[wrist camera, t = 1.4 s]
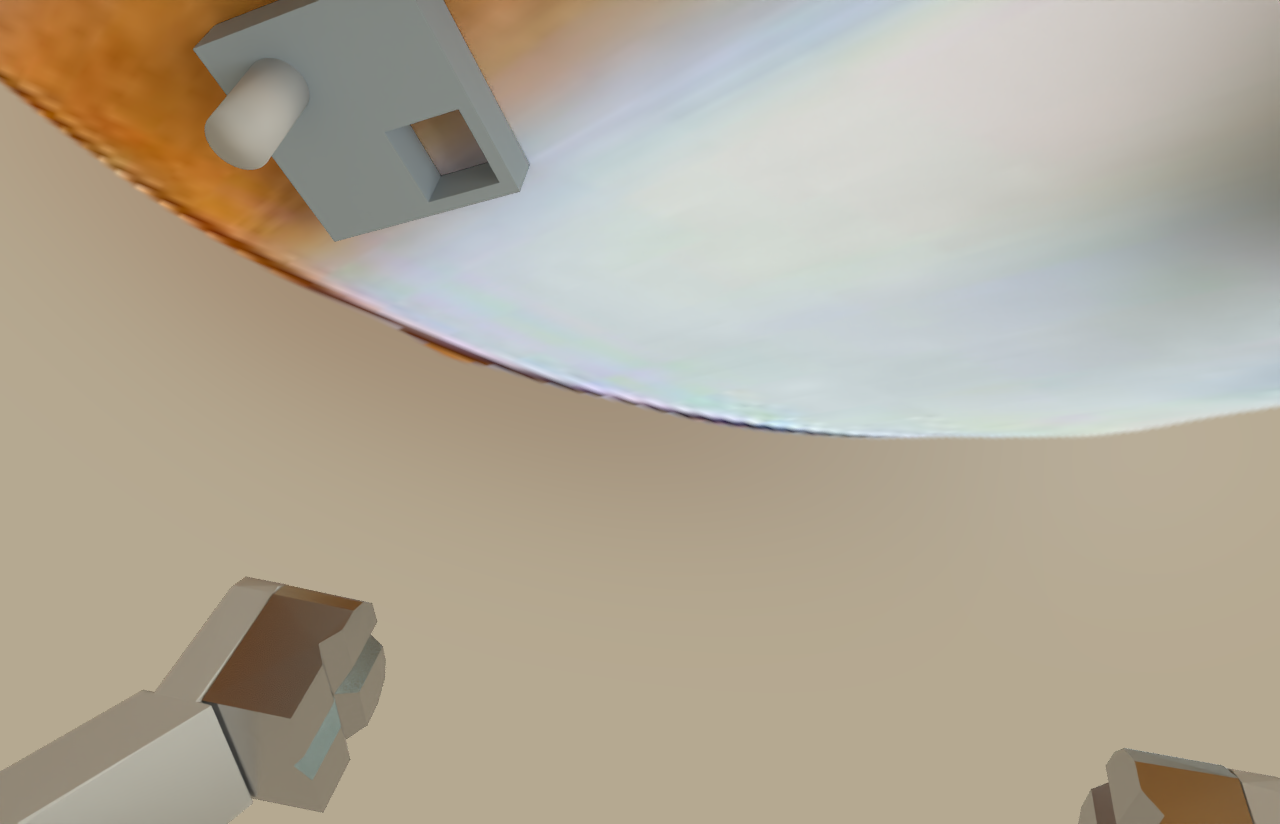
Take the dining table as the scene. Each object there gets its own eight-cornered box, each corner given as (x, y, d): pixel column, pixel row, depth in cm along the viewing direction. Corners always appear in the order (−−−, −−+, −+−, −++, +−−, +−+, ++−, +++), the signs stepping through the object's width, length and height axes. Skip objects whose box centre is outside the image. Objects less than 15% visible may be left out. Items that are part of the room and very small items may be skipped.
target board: (214, 25, 47) (143, 102, 42) (415, -54, 43) (361, 21, 38) (349, 215, 55) (302, 299, 50) (529, 164, 51) (498, 250, 46)
